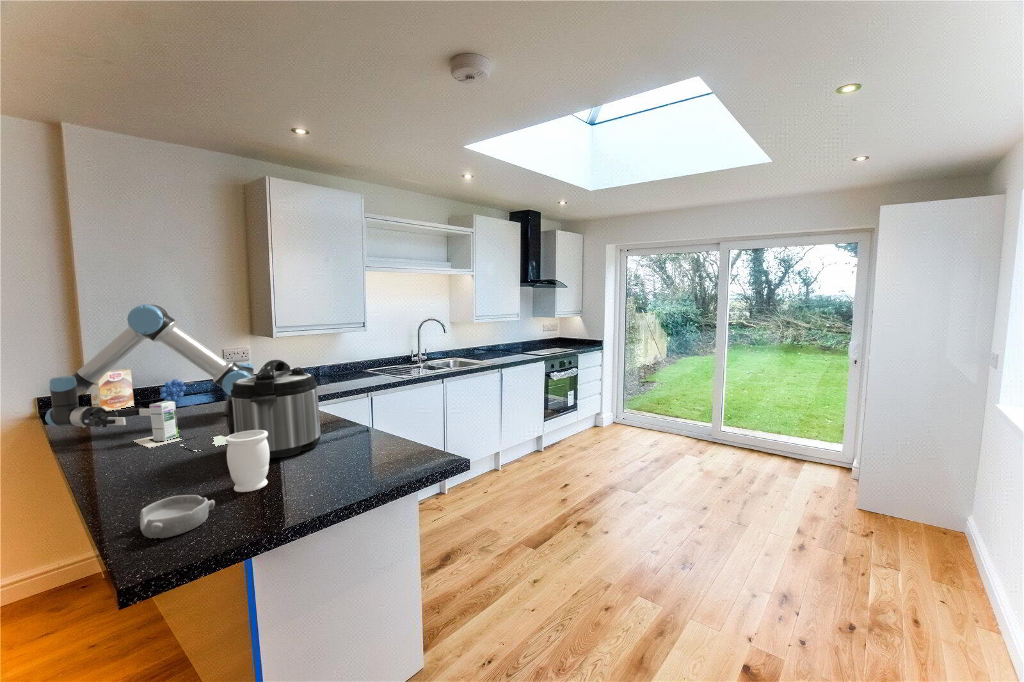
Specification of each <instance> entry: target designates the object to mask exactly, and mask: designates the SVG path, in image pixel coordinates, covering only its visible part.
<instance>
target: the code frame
mask: <svg viewBox="0 0 1024 682" xmlns="http://www.w3.org/2000/svg"><path fill="white" fill-rule="evenodd" d="M180 438H181V437H178V438H175V439H171V440H168V441H164V442H160V441H159V442H156V441H153V440H154V439H153V435H152V436H148V437H147V436H146V437H143V438H139V439H138V438H137V439H135V440H132V442H133V441H134V442H133V443H135V442H136V443H135V444H137V443H138V444H137V445H140V446H142V445H143V446H142V447H144V446H145V448H147V447H148V448H147V449H152V448H151V447H153V448H157V447H156V446H158V447H161V446H160V445H162V446H164V445H163V444H166V445H168V444H167V443H171V442H175V441H179V440H182V439H180ZM150 439H153V440H150ZM179 442H180V441H179ZM175 443H176V442H175ZM171 444H172V443H171Z"/></svg>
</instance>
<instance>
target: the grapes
mask: <svg viewBox="0 0 1024 682" xmlns="http://www.w3.org/2000/svg"><path fill="white" fill-rule="evenodd" d="M184 384H185V382H184V381H182V380H180V381H179V380H178V379H177V378H175V379H172V380H171V381H166V382H165V383H164V386H162V387H160V389H159V391H160V394H159V398H160V399H164V400H163V401H174V402H175V403H176V401H178V400H179V398H182V397H184V394H185V393H184V392H185V391H186V390H187V387H186V385H184Z"/></svg>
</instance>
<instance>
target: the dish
mask: <svg viewBox="0 0 1024 682" xmlns="http://www.w3.org/2000/svg"><path fill="white" fill-rule="evenodd" d="M215 505H216V501H215V500H214V499H211V500H208V498H207V497H202V496H200V495H197V494H184V495H173V496H170V497H167V498H166V497H165V498H163V499H161V500H157V501H155V502H152V503H151V504H148V505H147V506H146V507H144V508H142V509H141V510H140V513H139V514H140V515H139V526H140V527H139V528H140V531H141V533H142V535H143V536H144V537H146V538H148V539H152V538H154V540H155V539H156V538H160V539H165V538H167V539H168V538H171V537H174V536H175V537H176V536H178V535H181V534H184V533H187V532H189V531H191V530H193V529H196V528H197V527H199V526H200V525H203V523H205V522H206V520H207V519H208V517H209V512H210V510H213V509H214V508H215ZM156 540H157V539H156Z"/></svg>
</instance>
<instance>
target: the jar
mask: <svg viewBox="0 0 1024 682" xmlns="http://www.w3.org/2000/svg"><path fill="white" fill-rule="evenodd" d="M267 436H268V432H267V431H265V430H250V431H243V432H239V433H235V434H232V435H230V434H229V435H228V436H225V437H226V442H227V443H228V445H227V448H226V461H227V466H228V470H229V474H230V477H231V480H232V481H233V483H234V484H235V485H234V486H233V490H234V491H235V492H237V493H246V492H247V493H248V492H253V491H256V490H260V489H262V488H264V487H266V486H267V485H268V482H269V481H268V479H267V475H268V473H269V467H270V465H269V464H270V458H269V457H270V453H269V446H268V442H267V439H266V437H267Z"/></svg>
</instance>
